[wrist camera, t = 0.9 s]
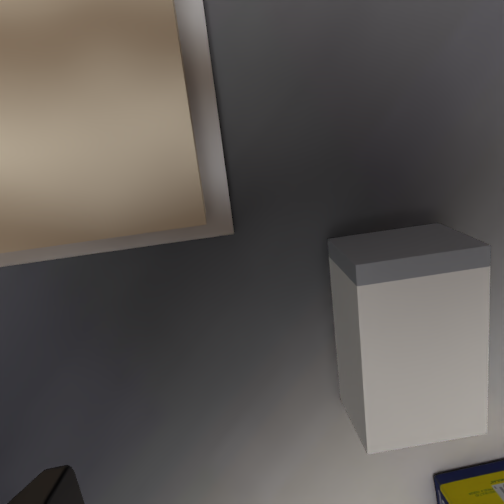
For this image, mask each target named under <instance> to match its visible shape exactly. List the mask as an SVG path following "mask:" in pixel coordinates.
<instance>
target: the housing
mask: <svg viewBox="0 0 504 504" xmlns="http://www.w3.org/2000/svg"><path fill="white" fill-rule="evenodd" d="M327 241H328V254H329V266H330V279H331V292H332V304H333V317H334V329H335V342H336V354H337V367H338V380H339V392H340V400H341V402H342V404H343V406H344V408H345V410H346V412H347V414H348V416H349V418H350V420H351V422H352V424H353V426H354V428H355V430H356V432H357V434H358V436H359V438H360V440H361V442H362V444H363V446H364V448H365V451H366V453H367V455H369V454H374V453H380V452H386V451H392V450H397V449H403V448H409V447H415V446H420V445H426V444H432V443H438V442H443V441H449V440H455V439H461V438H466V437H472V436H478V435H483V434H487V418H488V365H489V312H490V259H491V245H489V244H487V243H484V242H482V241H480V240H477V239H475V238H473V237H470V236H468V235H466V234H463V233H461V232H459V231H456V230H454V229H451V228H449V227H447V226H444V225H442V224H440V223H434V224H427V225H420V226H413V227H406V228H399V229H392V230H385V231H378V232H371V233H364V234H357V235H351V236H344V237H337V238H330V239H327Z"/></svg>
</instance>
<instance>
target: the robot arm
mask: <svg viewBox="0 0 504 504" xmlns="http://www.w3.org/2000/svg"><path fill="white" fill-rule="evenodd" d="M7 504H85V503H84V500H83V497H82V494H81V491H80V488H79V485H78V481H77V478H76V475H75V472H74V470H73V469H72V467H70V466H68V465H64V466H60V467H55V468H50V469H46V470H44V471H43V472H42V473H40V474H39V475H38V476H37V477H36V478H35V479H34V480H33V481H32V482H31V483H29V484H28V485H27V486H26V487H25V488H24V489H23V490H22V491H21V492H20V493H18V494H17V495H16V496H15V497H14V498H13V499H12V500H11V501H10V502H9V503H7Z"/></svg>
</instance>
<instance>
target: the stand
mask: <svg viewBox="0 0 504 504" xmlns="http://www.w3.org/2000/svg"><path fill="white" fill-rule="evenodd" d="M230 234H234V229H233V221H232V214H231V206H230V199H229V192H228V184H227V177H226V169H225V162H224V155H223V147H222V140H221V132H220V125H219V118H218V110H217V103H216V95H215V88H214V81H213V73H212V66H211V58H210V51H209V44H208V36H207V29H206V21H205V14H204V7H203V0H0V267H3V266H10V265H17V264H24V263H31V262H38V261H46V260H53V259H60V258H67V257H74V256H81V255H88V254H95V253H102V252H109V251H116V250H124V249H131V248H138V247H145V246H152V245H159V244H166V243H173V242H180V241H187V240H194V239H202V238H209V237H216V236H223V235H230Z"/></svg>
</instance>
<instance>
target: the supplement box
mask: <svg viewBox="0 0 504 504" xmlns="http://www.w3.org/2000/svg"><path fill="white" fill-rule="evenodd" d="M434 481H435V487H436V493H437V500H438V504H504V460H500V461H496V462H492V463H488V464H483V465H478V466H474V467H469V468H464V469H460V470H456V471H451V472H447V473H442V474H438V475H435V477H434Z"/></svg>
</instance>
